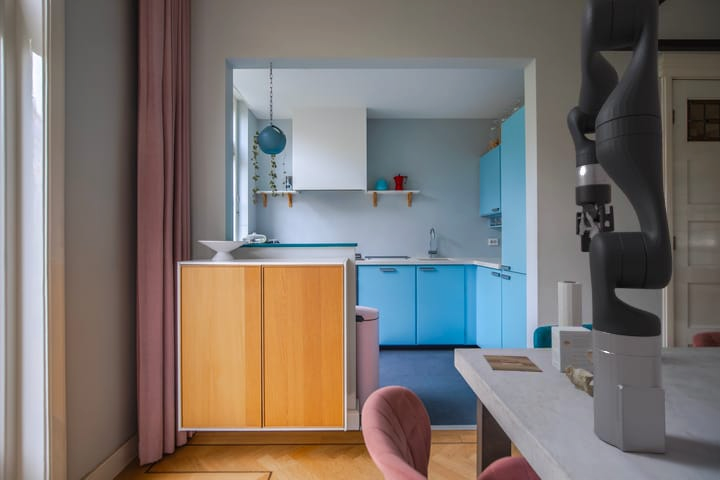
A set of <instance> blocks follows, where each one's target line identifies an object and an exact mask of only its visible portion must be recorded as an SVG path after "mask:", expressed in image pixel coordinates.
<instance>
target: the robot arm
mask: <svg viewBox="0 0 720 480" xmlns="http://www.w3.org/2000/svg"><path fill="white" fill-rule="evenodd" d="M659 7H660V3H659V0H587V2H586V3H585V5H584V8H583V11H582V15H581V21H580V22H581V23H580V70H581V71H580V73H581V74H580V75H581V83H580V90H579V96H578V100H577V101H578V105H577V106H574V107H572V108H571V109H570V111H568V113H567V117H566V123H567V127H568V130H569V134H570V136H571V138H572V141H573V145H574V150H575V167H576V168H575V175H574V176H575V178H574V180H575V181H574V184H575V185H574V189H575V197H574V198H575V205H576V206H578V207H582V208H581V209H582V211H577V212H576V213H575V235H576V236H579V238H580V252H581V253H588V256H589V257H588V258H589V261H588V262H589V272H590V274H589V275H590V284H591V308H592V310H591V313H592V315H591V316H592V320H591V321H592V323H591V325H592V330H591V331H592V334H593V373H592V374H593V380H592V382H593V383H592V384H593V394H592V395H593V396H592V397H593V428H594V429H593V430H594V434H595V436H596V437H598V438H599V439H600V440H602V441H603V442H606V443H607V444H610V445H612V446H615V447H617V448H619V449H620V450H621V451H623V452H636V453H637V452H638V453H639V452H640V453H657V454H667V437H666V436H667V435H666V431H667V430H666V398H665V397H666V394H665V393H666V392H665V389H664V388H663V373H662V369H663V368H662V365H663V364H662V361H663V360H662V322H661V319H660V317H659V316H658V315H657V314H655V313H653V312H651V311H647V310H644V309H641V308H638V307H635V306H633V305H631V304H628V303H627V302H625V301H623V300H622V299H620V298H619V297H618V296H617V294H616V290H615V289H624V290H625V289H626V290H627V289H629V290H630V289H633V290H634V289H635V290H662V289H665V288H667V286H669V284H670V281H671V280H672V277H673V276H672V275H673V254H672V253H673V252H672V251H673V250H672V243H671V236H670V235H671V234H670V229H669V227H670V226H669V220H668V213H667V206H666V199H665V189H664V171H663V170H664V167H663V166H664V165H663V164H664V162H663V161H664V158H663V155H664V153H663V150H664V149H663V148H664V147H663V143H664V142H663V126H662V122H663V121H662V113H661V112H662V111H661V102H660V101H661V100H660V92H659V87H660V86H659V74H658V71H659V70H658V56H659V55H658V47H659V23H660V22H659V17H660V15H659V14H660V13H659V11H660V8H659ZM628 47H631V48H632V56H631V59H630V62H629V63H628V65H627V68H626V69H625V72H624V74H623V75H622V77H621V78H619V75H618V72H617V70H616V69H615V67H614V66H613V65H612V64H611V63H610V62H609V60H607V59H606V58H605V57H604V56H603V54H602V53H601V52H605V51H611V50H617V49H624V48H628ZM619 79H620V80H619ZM592 134H595V138H594V139H595V140H593V139H590V138H588V137H587V136H586V135H592ZM612 182H613V183H614V184H615V185H616V186H617V187H618V188H619V189H620V191H621V192H622V193H623V194H624V195H625V197H626V198H627V200H628V202H629V203H630V204H631V206H632V208H633V210H634V211H635V214H636V217H637V221H638V223H639V228H640V231H615V219H614V218H615V216H614V214H615V213H614V205H610V204H611V203H612ZM593 231H595V232H596V233H595V234H594V235H593V236H592V234H593ZM614 231H615V232H614Z"/></svg>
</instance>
